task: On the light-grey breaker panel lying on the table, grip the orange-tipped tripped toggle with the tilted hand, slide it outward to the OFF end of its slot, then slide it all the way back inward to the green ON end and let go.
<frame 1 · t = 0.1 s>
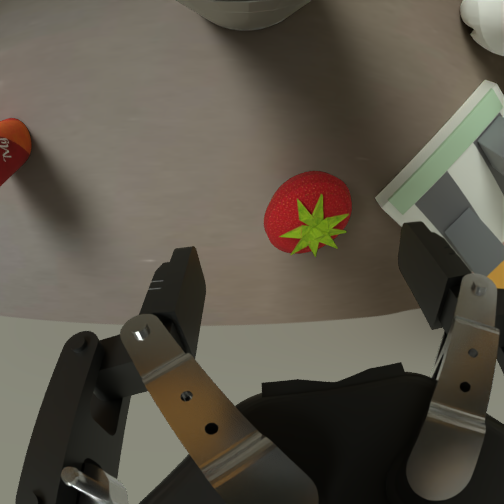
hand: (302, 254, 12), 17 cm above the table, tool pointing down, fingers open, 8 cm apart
water bottle: (479, 18, 17), on the table
breaker panel: (476, 195, 29), on the table
breaker handle: (488, 260, 25), point 8 cm above the table, slide at 0.0 cm
strawberry: (298, 183, 29), on the table
paper cup: (13, 141, 25), on the table
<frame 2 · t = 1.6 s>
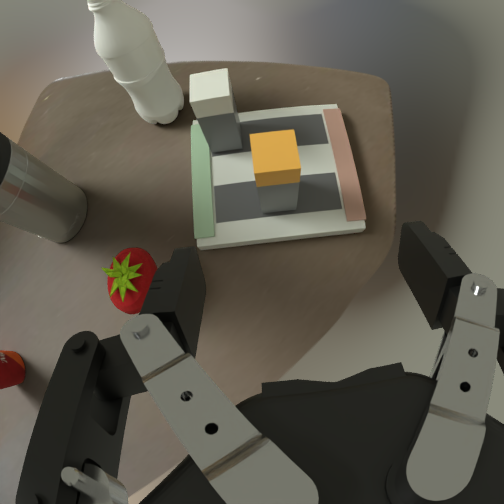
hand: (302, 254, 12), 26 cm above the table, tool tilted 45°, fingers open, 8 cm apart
water bottle: (165, 111, 44), on the table
breaker panel: (273, 173, 41), on the table
breaker handle: (276, 176, 32), point 8 cm above the table, slide at 0.0 cm
strawberry: (151, 285, 39), on the table
paper cup: (15, 367, 39), on the table
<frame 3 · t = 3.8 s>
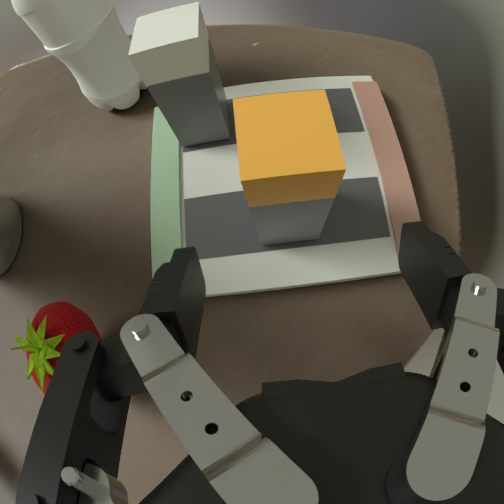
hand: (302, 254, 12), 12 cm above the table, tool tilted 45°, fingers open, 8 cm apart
water bottle: (126, 93, 30), on the table
breaker panel: (279, 177, 26), on the table
breaker handle: (286, 184, 17), point 8 cm above the table, slide at 0.0 cm
strawberry: (99, 348, 25), on the table
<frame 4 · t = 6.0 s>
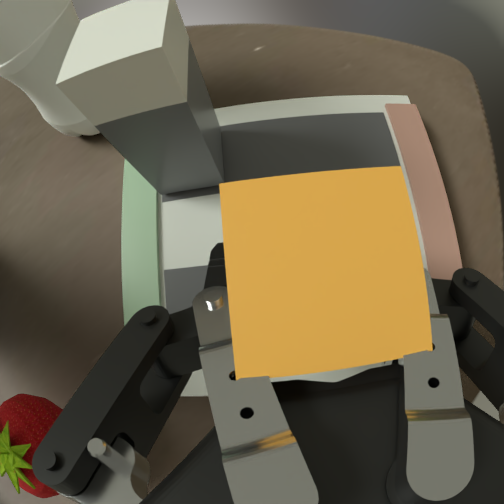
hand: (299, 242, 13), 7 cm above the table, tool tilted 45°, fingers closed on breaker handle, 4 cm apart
water bottle: (98, 113, 24), on the table
breaker panel: (290, 236, 20), on the table
breaker handle: (308, 290, 11), point 8 cm above the table, slide at 0.0 cm, touching gripper
strawberry: (78, 428, 19), on the table
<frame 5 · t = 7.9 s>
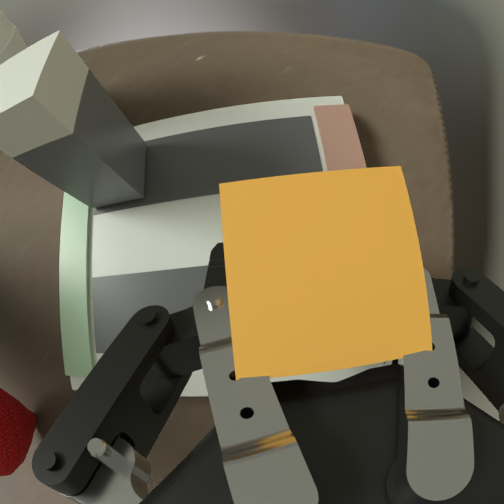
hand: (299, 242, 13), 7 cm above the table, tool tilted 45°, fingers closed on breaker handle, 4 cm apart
water bottle: (55, 128, 24), on the table
breaker panel: (209, 246, 20), on the table
breaker handle: (308, 290, 11), point 8 cm above the table, slide at 5.2 cm, touching gripper
strawberry: (34, 418, 19), on the table
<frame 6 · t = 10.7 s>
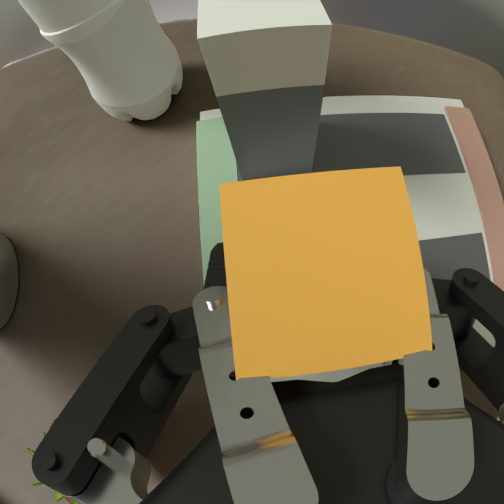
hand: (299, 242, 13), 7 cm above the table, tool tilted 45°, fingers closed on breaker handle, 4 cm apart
water bottle: (149, 98, 24), on the table
breaker panel: (368, 227, 19), on the table
breaker handle: (308, 290, 11), point 8 cm above the table, slide at -5.1 cm, touching gripper
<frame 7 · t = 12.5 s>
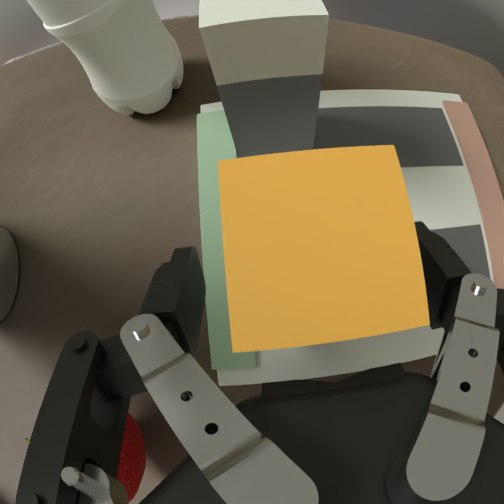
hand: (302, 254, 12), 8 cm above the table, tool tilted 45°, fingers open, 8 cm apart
water bottle: (151, 93, 24), on the table
breaker panel: (367, 219, 20), on the table
breaker handle: (306, 275, 12), point 8 cm above the table, slide at -5.1 cm
strawberry: (133, 429, 18), on the table
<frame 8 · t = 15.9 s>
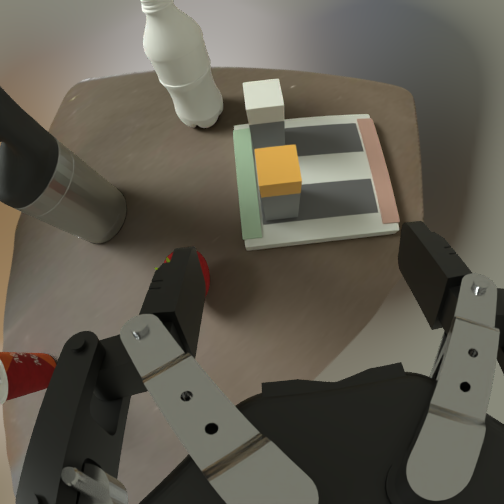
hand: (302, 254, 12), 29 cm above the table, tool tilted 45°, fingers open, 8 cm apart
water bottle: (203, 116, 47), on the table
breaker panel: (313, 178, 43), on the table
breaker handle: (278, 186, 35), point 8 cm above the table, slide at -5.1 cm
strawberry: (197, 284, 42), on the table
paper cup: (47, 369, 41), on the table
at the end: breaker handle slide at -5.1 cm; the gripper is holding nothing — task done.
